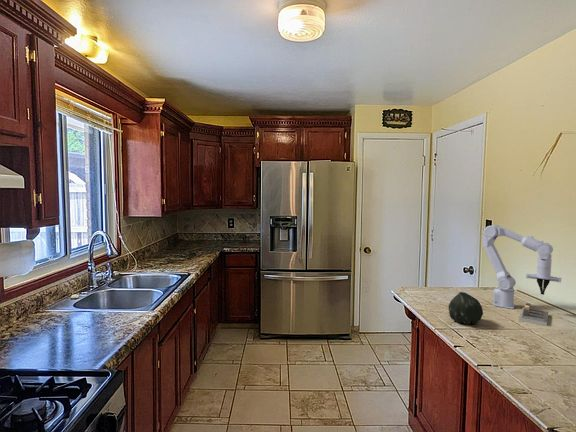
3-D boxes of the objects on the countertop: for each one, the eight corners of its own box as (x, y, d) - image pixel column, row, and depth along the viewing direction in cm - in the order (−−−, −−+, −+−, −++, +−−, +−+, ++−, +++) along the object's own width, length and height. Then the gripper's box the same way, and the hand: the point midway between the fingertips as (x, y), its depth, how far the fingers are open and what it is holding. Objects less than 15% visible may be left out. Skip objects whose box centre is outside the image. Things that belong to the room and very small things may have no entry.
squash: (489, 309, 176) (467, 283, 180) (489, 320, 163) (465, 292, 167) (463, 324, 182) (442, 299, 186) (461, 335, 169) (439, 308, 173)
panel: (518, 320, 177) (518, 316, 177) (522, 310, 193) (522, 306, 192) (546, 325, 171) (546, 321, 171) (548, 315, 186) (548, 310, 186)
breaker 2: (523, 316, 179) (523, 309, 178) (523, 314, 180) (524, 308, 180) (528, 317, 177) (528, 310, 177) (528, 315, 179) (528, 309, 179)
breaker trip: (524, 313, 183) (524, 306, 183) (524, 311, 185) (524, 305, 185) (528, 314, 182) (529, 307, 182) (529, 312, 184) (529, 305, 183)
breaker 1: (525, 310, 187) (525, 304, 187) (525, 309, 189) (526, 302, 189) (529, 311, 186) (530, 304, 186) (530, 310, 188) (530, 303, 188)
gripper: (526, 266, 188) (524, 293, 189) (561, 270, 179) (560, 298, 180) (527, 264, 194) (526, 290, 195) (562, 268, 185) (560, 295, 186)
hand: (542, 294), depth 188 cm, fingers closed
